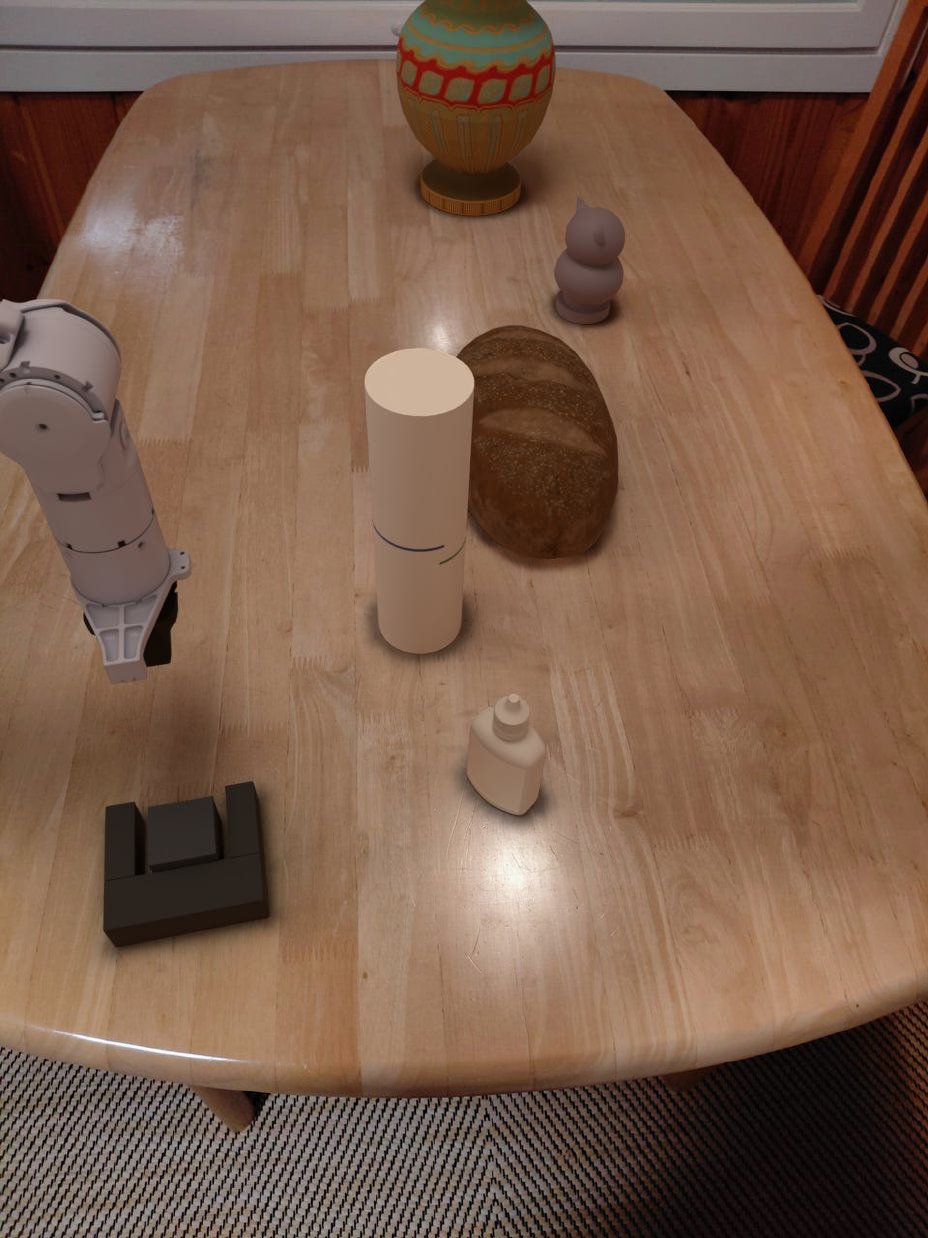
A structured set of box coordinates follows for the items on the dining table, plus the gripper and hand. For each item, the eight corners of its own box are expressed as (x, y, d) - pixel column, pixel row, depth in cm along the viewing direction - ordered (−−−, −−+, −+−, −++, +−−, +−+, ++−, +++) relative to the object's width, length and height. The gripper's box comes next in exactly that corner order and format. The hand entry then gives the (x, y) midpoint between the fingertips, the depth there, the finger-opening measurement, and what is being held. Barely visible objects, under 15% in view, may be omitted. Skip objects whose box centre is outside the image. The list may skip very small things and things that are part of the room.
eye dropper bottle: (487, 828, 68) (498, 742, 59) (461, 764, 71) (467, 673, 62) (542, 810, 69) (561, 723, 60) (514, 748, 72) (528, 656, 63)
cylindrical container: (369, 598, 81) (353, 357, 62) (447, 581, 83) (455, 341, 63) (390, 662, 77) (379, 424, 58) (472, 643, 79) (488, 405, 59)
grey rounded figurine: (627, 324, 109) (647, 227, 100) (564, 333, 107) (578, 235, 98) (600, 285, 114) (617, 188, 105) (540, 293, 112) (551, 196, 103)
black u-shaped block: (114, 947, 62) (102, 931, 59) (116, 825, 67) (105, 806, 65) (269, 917, 63) (264, 899, 61) (258, 800, 69) (253, 780, 67)
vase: (546, 163, 134) (572, -93, 110) (538, 234, 121) (566, -37, 98) (409, 151, 134) (406, -105, 111) (387, 220, 122) (379, -52, 99)
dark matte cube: (161, 890, 64) (147, 866, 61) (159, 832, 67) (147, 806, 64) (225, 878, 65) (216, 853, 62) (222, 821, 68) (212, 795, 65)
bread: (469, 578, 83) (475, 484, 74) (427, 377, 101) (428, 282, 92) (637, 563, 85) (662, 469, 76) (567, 368, 103) (581, 275, 94)
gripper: (178, 602, 50) (220, 737, 60) (171, 427, 58) (209, 572, 69) (39, 621, 48) (107, 755, 59) (53, 440, 57) (110, 585, 68)
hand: (155, 658), depth 64 cm, fingers closed
